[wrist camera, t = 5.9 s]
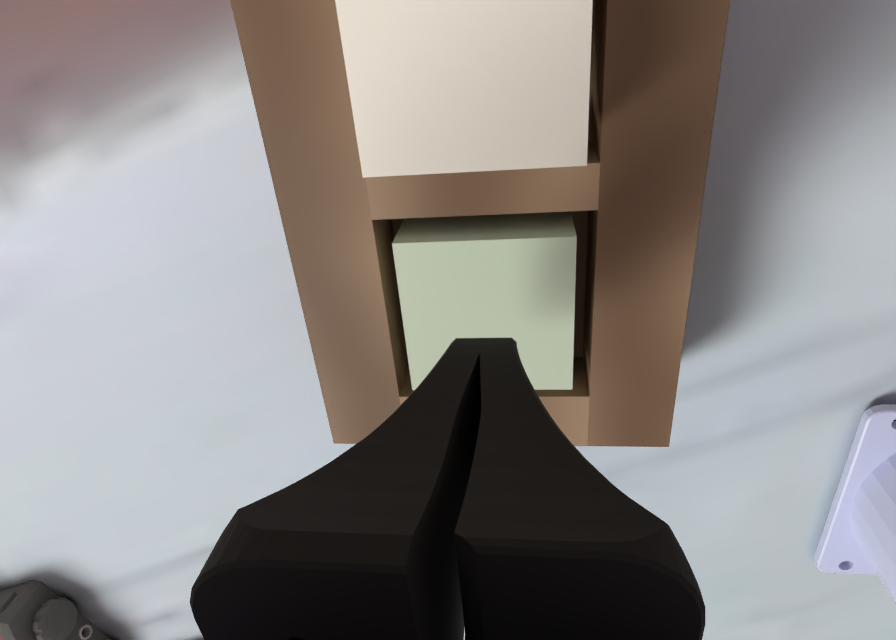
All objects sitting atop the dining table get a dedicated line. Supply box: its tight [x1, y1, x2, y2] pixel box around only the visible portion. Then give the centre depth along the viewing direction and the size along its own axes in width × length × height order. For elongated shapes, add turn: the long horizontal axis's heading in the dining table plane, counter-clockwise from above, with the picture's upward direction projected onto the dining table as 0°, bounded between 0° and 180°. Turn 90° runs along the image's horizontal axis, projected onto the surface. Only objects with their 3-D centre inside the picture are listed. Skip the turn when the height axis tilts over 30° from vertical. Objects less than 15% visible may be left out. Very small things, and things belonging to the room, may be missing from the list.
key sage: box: [392, 211, 577, 390], centre depth 16 cm, size 4×4×2 cm
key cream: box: [335, 0, 593, 178], centre depth 11 cm, size 4×4×2 cm
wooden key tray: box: [230, 0, 730, 447], centre depth 14 cm, size 10×22×4 cm, turn 5°
